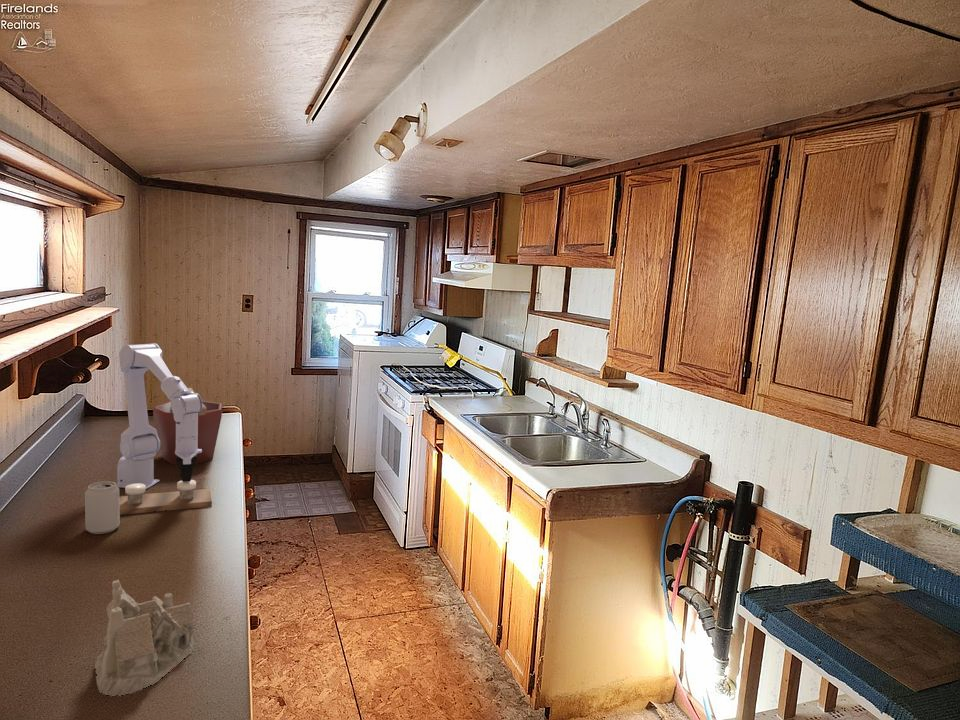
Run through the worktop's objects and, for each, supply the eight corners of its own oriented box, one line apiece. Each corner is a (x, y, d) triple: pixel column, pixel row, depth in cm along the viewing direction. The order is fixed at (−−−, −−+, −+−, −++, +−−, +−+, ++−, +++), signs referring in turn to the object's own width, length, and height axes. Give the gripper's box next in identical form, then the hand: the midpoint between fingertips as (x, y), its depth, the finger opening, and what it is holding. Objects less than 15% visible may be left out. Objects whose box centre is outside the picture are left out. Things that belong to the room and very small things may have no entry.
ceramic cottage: (88, 702, 96) (95, 610, 95) (98, 648, 111) (104, 567, 110) (197, 684, 103) (204, 598, 102) (193, 635, 118) (199, 559, 117)
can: (126, 527, 160) (126, 482, 158) (100, 537, 153) (99, 491, 151) (105, 521, 162) (104, 477, 161) (78, 531, 155) (77, 486, 154)
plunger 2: (176, 499, 176) (176, 485, 175) (176, 493, 180) (176, 480, 180) (196, 498, 178) (196, 484, 177) (195, 492, 182) (195, 479, 182)
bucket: (220, 466, 213) (221, 395, 210) (148, 469, 205) (148, 396, 202) (221, 446, 235) (222, 382, 232) (157, 449, 227) (157, 382, 224)
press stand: (106, 516, 166) (106, 501, 165) (110, 501, 175) (110, 488, 175) (211, 506, 177) (211, 492, 177) (209, 493, 187) (209, 480, 186)
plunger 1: (124, 504, 170) (124, 490, 169) (125, 498, 174) (125, 484, 174) (145, 502, 172) (145, 488, 172) (145, 496, 177) (145, 482, 176)
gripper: (202, 441, 172) (202, 488, 174) (201, 428, 185) (200, 472, 187) (174, 443, 169) (174, 490, 171) (175, 429, 182) (174, 474, 184)
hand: (186, 481), depth 178 cm, fingers closed
